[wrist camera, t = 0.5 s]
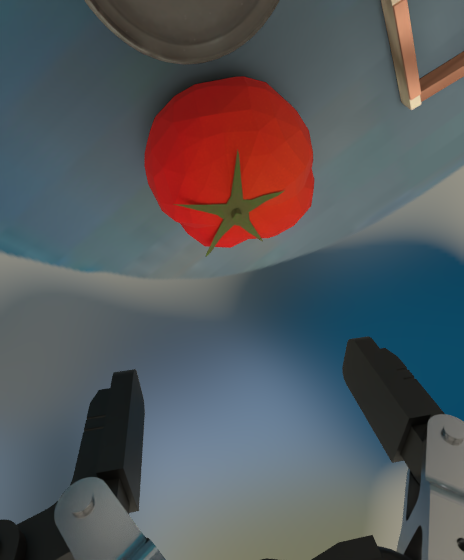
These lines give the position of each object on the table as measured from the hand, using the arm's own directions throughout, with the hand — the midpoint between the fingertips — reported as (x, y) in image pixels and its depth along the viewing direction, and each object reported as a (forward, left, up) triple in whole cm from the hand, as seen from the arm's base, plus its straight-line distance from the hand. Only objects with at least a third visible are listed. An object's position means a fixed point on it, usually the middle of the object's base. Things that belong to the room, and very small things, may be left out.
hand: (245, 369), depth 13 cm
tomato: (+5, +1, -28) cm, 29 cm away
